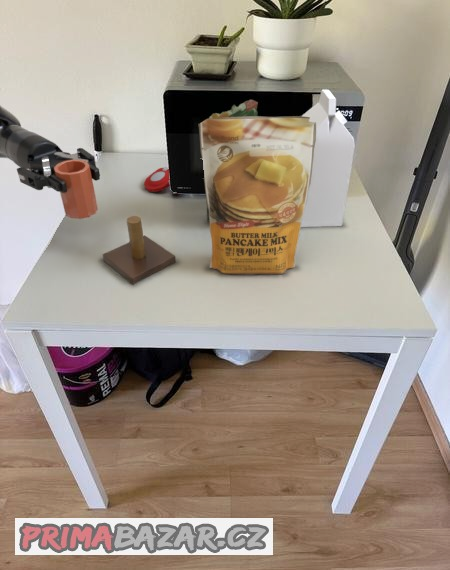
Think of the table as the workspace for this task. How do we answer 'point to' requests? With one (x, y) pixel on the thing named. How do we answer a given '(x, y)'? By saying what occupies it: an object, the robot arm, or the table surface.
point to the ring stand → (138, 254)
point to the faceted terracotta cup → (77, 188)
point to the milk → (328, 165)
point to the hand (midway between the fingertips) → (81, 181)
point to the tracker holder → (158, 180)
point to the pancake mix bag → (256, 189)
